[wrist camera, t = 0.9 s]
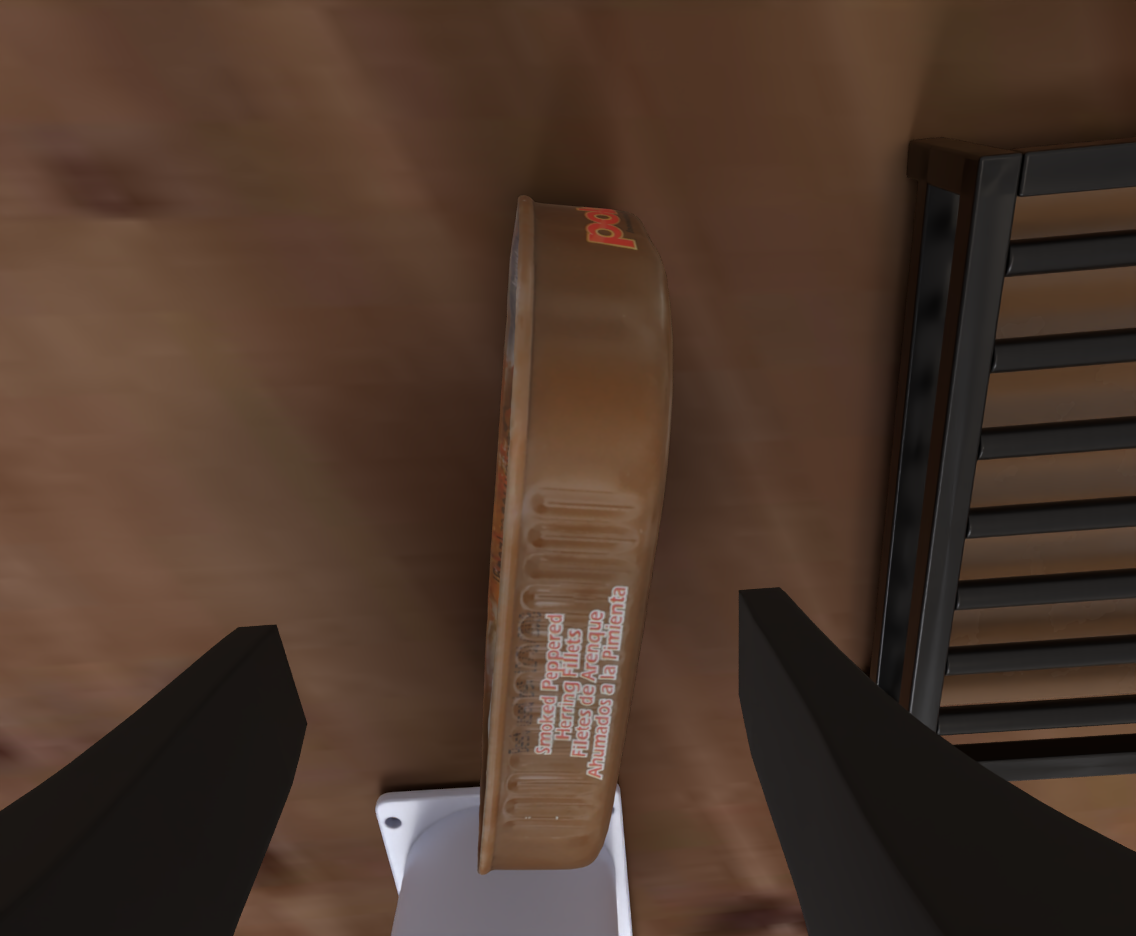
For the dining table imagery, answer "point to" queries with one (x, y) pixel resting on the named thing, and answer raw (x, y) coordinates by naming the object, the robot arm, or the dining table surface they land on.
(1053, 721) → the rack
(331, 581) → the dining table surface
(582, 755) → the tin
